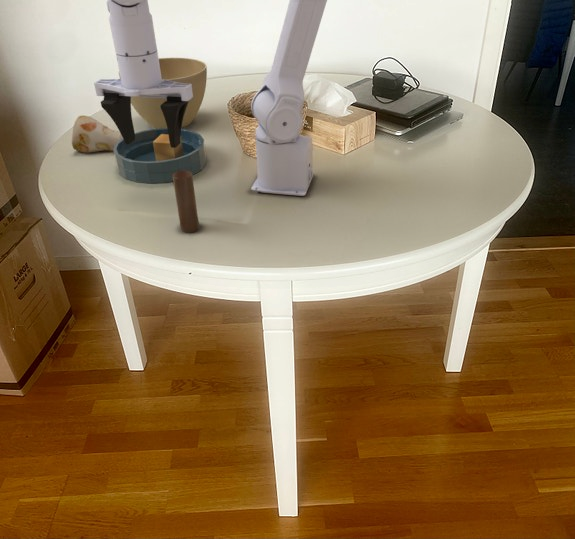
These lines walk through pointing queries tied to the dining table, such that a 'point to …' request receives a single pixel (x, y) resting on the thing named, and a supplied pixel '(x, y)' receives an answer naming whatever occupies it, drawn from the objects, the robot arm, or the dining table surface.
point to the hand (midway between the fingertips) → (152, 143)
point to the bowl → (142, 162)
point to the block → (166, 148)
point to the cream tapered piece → (93, 136)
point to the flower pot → (177, 72)
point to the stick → (186, 201)
